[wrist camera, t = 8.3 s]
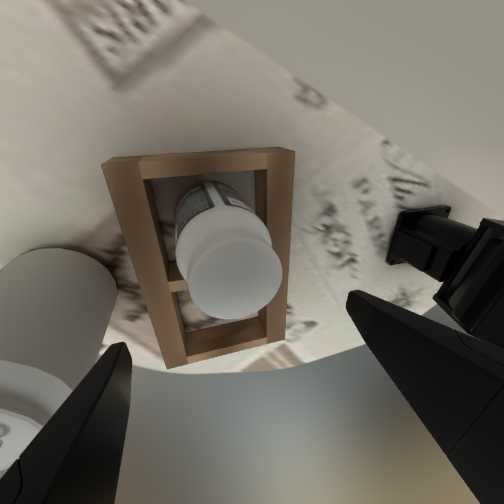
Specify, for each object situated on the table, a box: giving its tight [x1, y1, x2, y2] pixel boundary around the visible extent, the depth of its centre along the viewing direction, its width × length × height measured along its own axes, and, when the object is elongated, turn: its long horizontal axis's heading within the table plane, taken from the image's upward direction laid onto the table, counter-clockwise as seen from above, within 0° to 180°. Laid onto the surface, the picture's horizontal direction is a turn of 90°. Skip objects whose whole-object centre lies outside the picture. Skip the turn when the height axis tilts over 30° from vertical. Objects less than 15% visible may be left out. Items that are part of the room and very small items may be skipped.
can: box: [0, 248, 118, 478], centre depth 14 cm, size 8×8×12 cm
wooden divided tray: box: [101, 147, 295, 369], centre depth 21 cm, size 12×18×3 cm, turn 2°
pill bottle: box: [174, 181, 282, 319], centre depth 16 cm, size 6×6×10 cm
